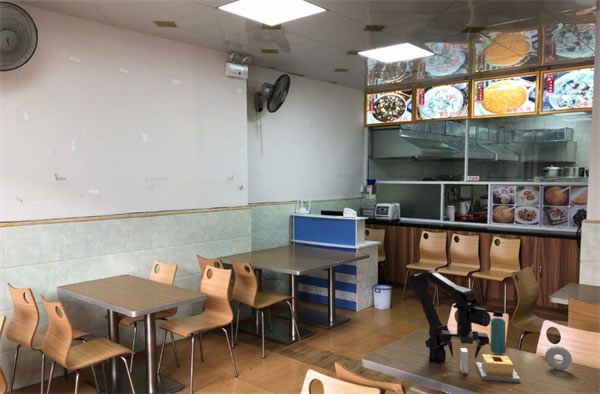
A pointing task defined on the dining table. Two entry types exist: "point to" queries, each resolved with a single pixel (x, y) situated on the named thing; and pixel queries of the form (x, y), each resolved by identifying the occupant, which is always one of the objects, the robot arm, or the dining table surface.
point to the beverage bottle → (498, 333)
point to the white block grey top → (463, 360)
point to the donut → (561, 351)
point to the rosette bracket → (497, 368)
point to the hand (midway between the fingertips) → (463, 357)
